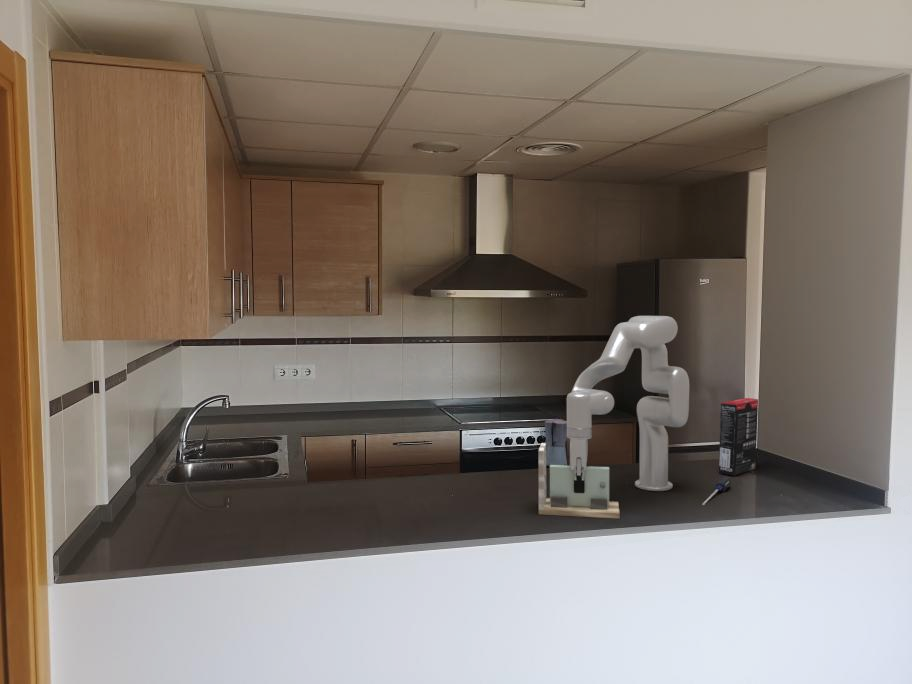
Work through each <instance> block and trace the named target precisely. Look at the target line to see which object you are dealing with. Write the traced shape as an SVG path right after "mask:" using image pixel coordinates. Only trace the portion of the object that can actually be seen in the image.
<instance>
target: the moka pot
mask: <svg viewBox="0 0 912 684" xmlns="http://www.w3.org/2000/svg"><path fill="white" fill-rule="evenodd" d="M544 427H545V428H544V429H545V430H544V431H545V438H546V441H547V442H546V466H549V467H550V465H567V466H568V461H567V453H566V451H567V450H566V442H567V439H568V437H567V420H562V419H559V415H558V414H555V415H554V418H553V419H549V420H544Z"/></svg>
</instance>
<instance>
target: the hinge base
mask: <svg viewBox="0 0 912 684" xmlns="http://www.w3.org/2000/svg"><path fill="white" fill-rule="evenodd" d="M546 450H547V442H541V444H540V446H539V447H538V458H537V459H538V515H545V516H546V515H548V516H564V517H566V516H569V517H583V518H584V517H585V518H602V519H618V520H619V519H620V516H621V515H620V507H619V506H620V505H619V501H613V500H612V501H610V500H609V508H607V499H595V498H591V507H584V506H567V497H553V496H551V505H550V497H547V465H546Z"/></svg>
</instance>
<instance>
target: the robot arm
mask: <svg viewBox="0 0 912 684" xmlns="http://www.w3.org/2000/svg"><path fill="white" fill-rule="evenodd" d="M678 329H679V327H678V323H677V320H675V319H674V318H673V317H671V316H667V315H637V316H633V317H631V318H629V320H627V321H625V322H620V323H618V324H617V325H616V326H615V327H614V329H613V330H612V333H611V335H610V337H609V339H608V341H607V343H606V345H605V348H604V349H603V352H602V353H601V355H600V357H599V359H597V360H596V361H595V362H593V363H591V364H590V365H589V366H588V367H587V368H586V369H584V370H583V371H582V372H581V373H580V375H579V376H578V377H577V379H576V381H575V383H574V385H573V387H572V390H571V392H569V393H568V394H567V396H566V421H567V439H569V466H570V470H571V471H572V470H574V468H575V471H574V472H575V480H574V493H584V492H585V480H584V471H585V470H586V466H587V463H588V444H589V443H588V440H589V439H592V433H593V431H592V425H593V424H592V415H599V416H600V415H601V416H602V415H607V414H608V413H610V412H611V411H612V410H613V408H614V406H615V399H614V397H613V395H612V394H611V393H610V392H608V391H607V390H601V389H600V390H599V389H593V388H594V386H596V385H597V384H598V383H600V382H601V381H602V380H604V379H607V378H610V377H613V376H615V375H618V374H620V373H622V372H624V371H625V369H626V368H627V365H628V364H629V361H630V359H631V356H632V354H633V352H634V350H635V349H640V351H641V385H642V388H643V389H644V390H645V391H647V392H650V393H654V394H662V395H663V394H664V395H668V397H665V396H664V397H663V396H654V395H647V396H643V397H642V398H640V399H639V401H638V402H637V405H636V417H637V420H638V427H639V478H638V479H637V480H636V481H634V486H635V487H636V488H638V489H641V490H644V491H652V492H664V491H670V490H672V489H673V485H674V484H673V483H672V482H671V481H669V435H668V432H667V430H666V428H665V427H671V428H681V427H684V426H685V425H686V423H687V422H688V420H689V419H688V418H689V413H690V378H689V375H688V372H687V371H686V370H685V369H684V368H682V367H680V366H673V365H672V366H671V365H669V363H668V361H669V360H668V358H669V357H668V348H667V347H666V346H667V345H665V344H666V343H667V344H668V343H670V342H671V341H673V340H674V339H675V338H676V336H677V334H678ZM576 468H577V470H576ZM581 468H582V470H581ZM576 472H577V473H576ZM581 472H582V473H581Z"/></svg>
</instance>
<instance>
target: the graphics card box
mask: <svg viewBox="0 0 912 684" xmlns="http://www.w3.org/2000/svg"><path fill="white" fill-rule="evenodd" d="M758 410H759V399H757V398H754V397H753V398H752V397H751V398H750V397H747V398H738V399H734V400H727V401H723V402H721V403H720V417H719V418H720V423H719V446H718V447H719V449H718V450H719V452H718V453H719V454H718V473H719V474H723V475H724V474H725V475H729V476H732V477H735V476H737V475H742V474H744V473H747V472H750V471H754V470H756V467H757V466H756V465H757V440H758V439H757V438H758V436H757V435H758V415H759V413H758Z"/></svg>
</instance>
